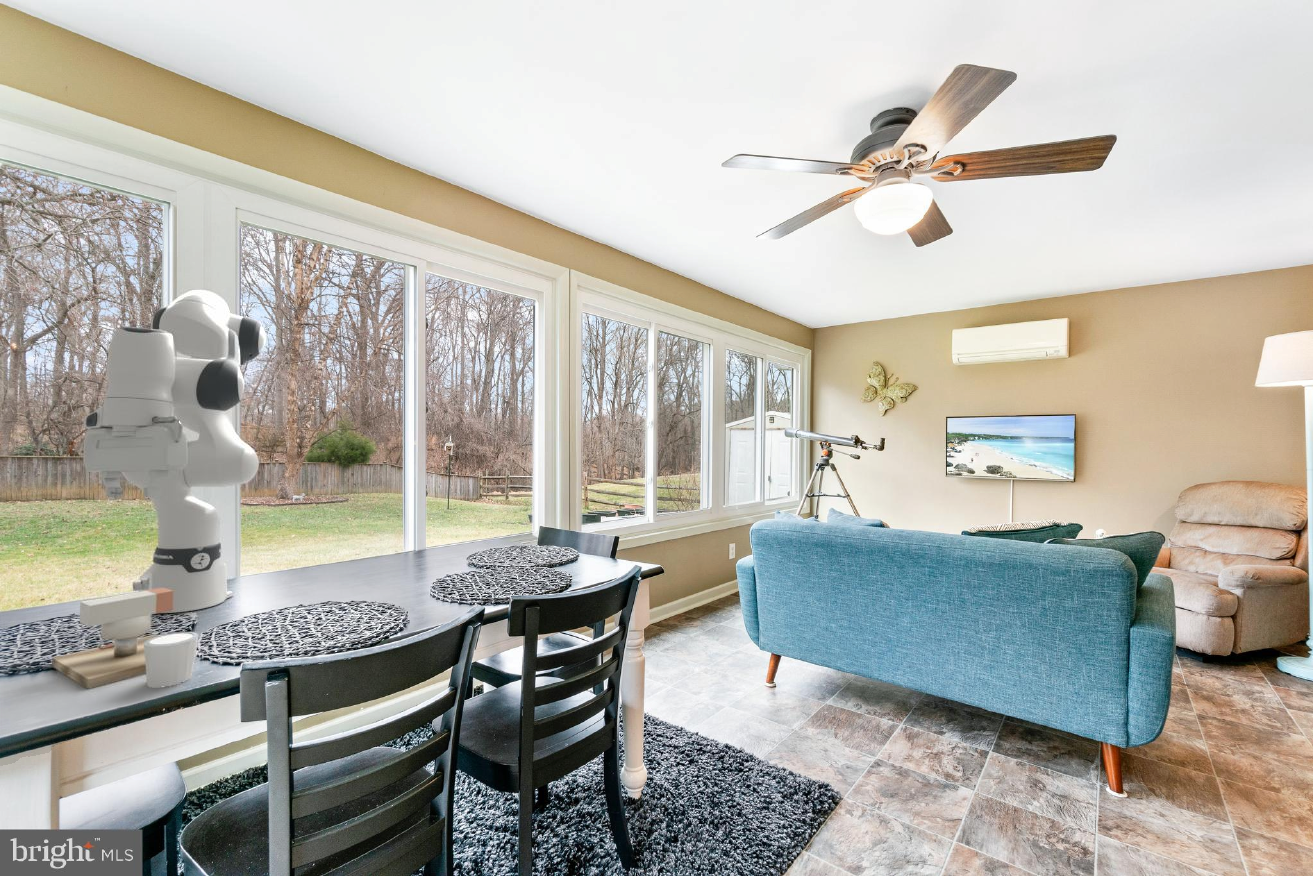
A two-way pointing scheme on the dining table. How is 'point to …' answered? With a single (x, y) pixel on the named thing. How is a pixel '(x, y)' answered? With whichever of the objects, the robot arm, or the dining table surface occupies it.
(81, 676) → the base plate
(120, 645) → the post
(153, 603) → the orange-ended white bar
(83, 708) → the dining table surface
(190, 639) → the white tapered cup
